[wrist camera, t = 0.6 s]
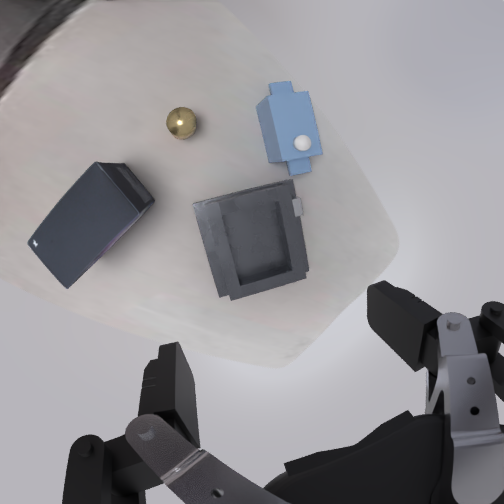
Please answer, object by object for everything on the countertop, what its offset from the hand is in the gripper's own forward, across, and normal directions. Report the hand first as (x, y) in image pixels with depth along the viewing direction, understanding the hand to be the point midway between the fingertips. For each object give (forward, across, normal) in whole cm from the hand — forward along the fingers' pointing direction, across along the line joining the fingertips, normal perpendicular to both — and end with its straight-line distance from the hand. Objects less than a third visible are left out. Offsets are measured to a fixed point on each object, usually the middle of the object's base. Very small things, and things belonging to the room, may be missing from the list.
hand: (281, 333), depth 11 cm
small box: (+24, +13, -4) cm, 28 cm away
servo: (+24, -9, -9) cm, 27 cm away
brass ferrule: (+24, +2, -12) cm, 27 cm away
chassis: (+24, -3, +3) cm, 24 cm away
